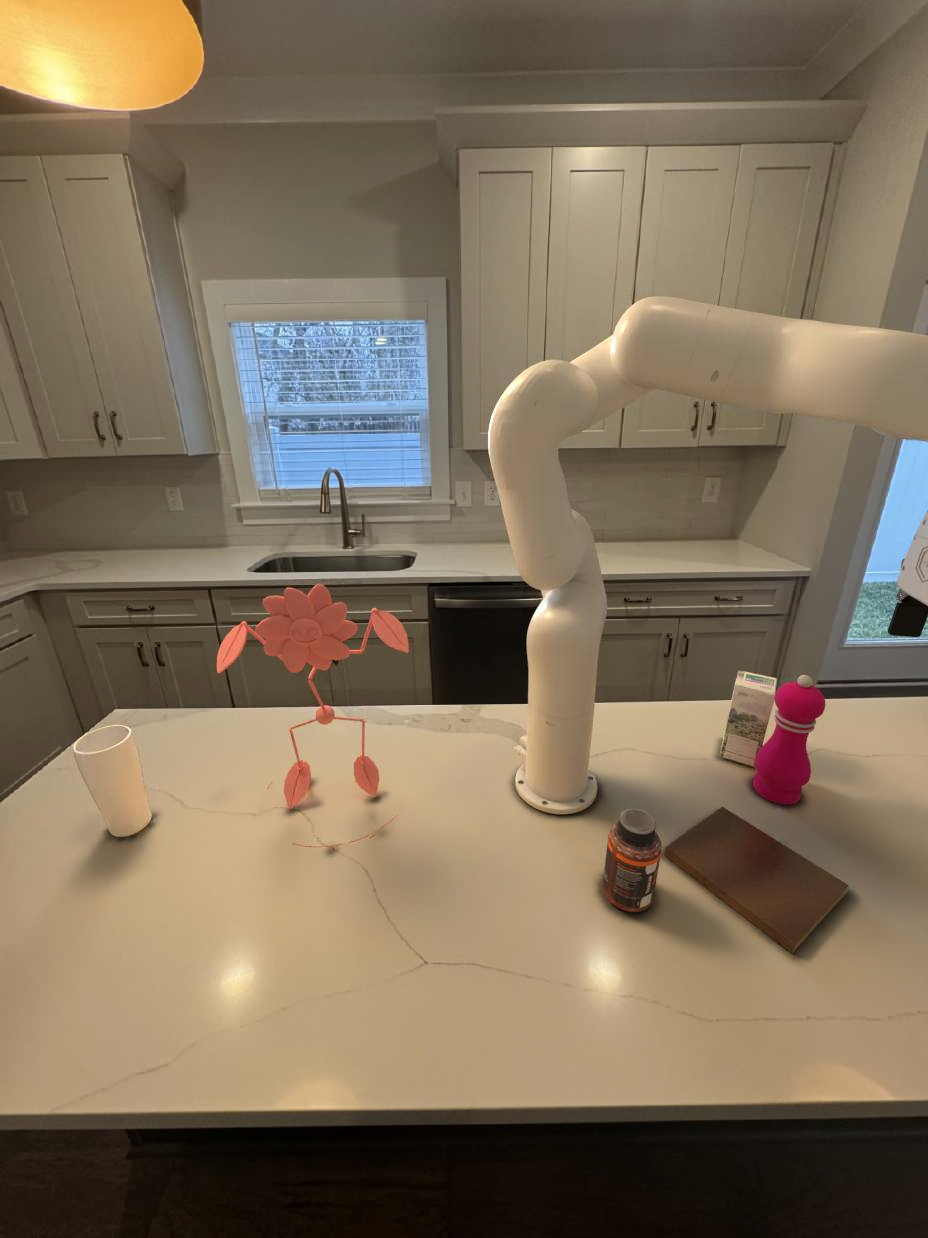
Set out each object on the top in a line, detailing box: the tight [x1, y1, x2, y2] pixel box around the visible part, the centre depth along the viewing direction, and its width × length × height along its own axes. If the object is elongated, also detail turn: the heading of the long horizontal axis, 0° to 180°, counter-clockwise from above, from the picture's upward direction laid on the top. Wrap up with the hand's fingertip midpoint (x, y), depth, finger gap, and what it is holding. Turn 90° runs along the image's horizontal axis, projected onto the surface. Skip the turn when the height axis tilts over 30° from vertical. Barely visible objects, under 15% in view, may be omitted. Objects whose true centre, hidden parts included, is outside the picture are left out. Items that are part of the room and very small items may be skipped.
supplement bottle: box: [602, 808, 663, 913], centre depth 60 cm, size 6×6×11 cm
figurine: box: [216, 583, 409, 851], centre depth 69 cm, size 15×26×35 cm, turn 97°
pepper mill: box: [752, 674, 826, 805], centre depth 74 cm, size 7×7×20 cm
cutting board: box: [664, 806, 850, 954], centre depth 64 cm, size 16×13×2 cm
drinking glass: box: [72, 724, 153, 838], centre depth 71 cm, size 7×7×15 cm
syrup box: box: [719, 669, 778, 769], centre depth 83 cm, size 6×6×14 cm
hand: (927, 653), depth 56 cm, fingers open, 9 cm apart
